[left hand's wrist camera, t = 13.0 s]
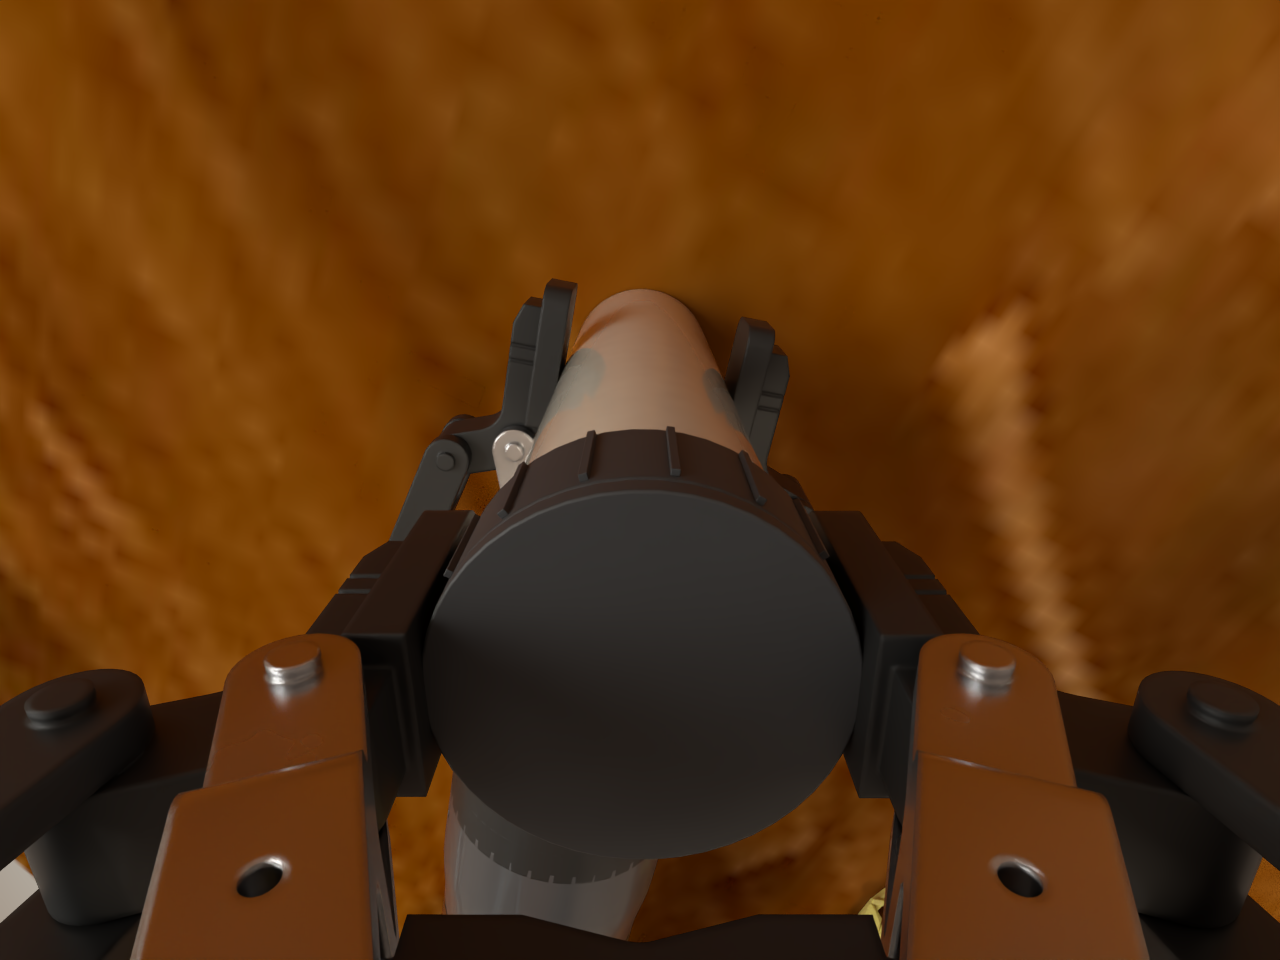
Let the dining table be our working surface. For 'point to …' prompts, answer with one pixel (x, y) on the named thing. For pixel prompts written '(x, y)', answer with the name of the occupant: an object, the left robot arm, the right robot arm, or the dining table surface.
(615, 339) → the bottle
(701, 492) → the lid
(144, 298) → the dining table surface
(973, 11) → the dining table surface
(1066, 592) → the dining table surface
